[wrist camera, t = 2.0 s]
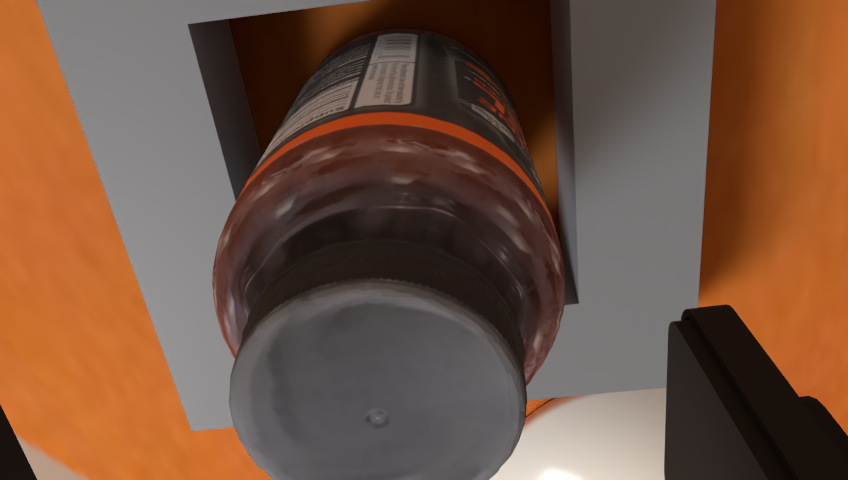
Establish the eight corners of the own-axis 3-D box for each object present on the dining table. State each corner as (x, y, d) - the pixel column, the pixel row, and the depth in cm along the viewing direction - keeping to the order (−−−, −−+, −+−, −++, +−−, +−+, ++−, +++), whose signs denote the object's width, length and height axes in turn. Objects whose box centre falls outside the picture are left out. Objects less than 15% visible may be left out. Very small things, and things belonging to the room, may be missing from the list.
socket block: (679, -207, 16) (730, -220, 13) (661, 322, 22) (693, 385, 20) (64, -119, 17) (-6, -114, 14) (219, 365, 23) (191, 431, 21)
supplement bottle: (552, 173, 20) (674, 489, 10) (367, 263, 21) (313, 619, 11) (451, -26, 18) (480, 127, 8) (251, 89, 19) (50, 347, 9)
